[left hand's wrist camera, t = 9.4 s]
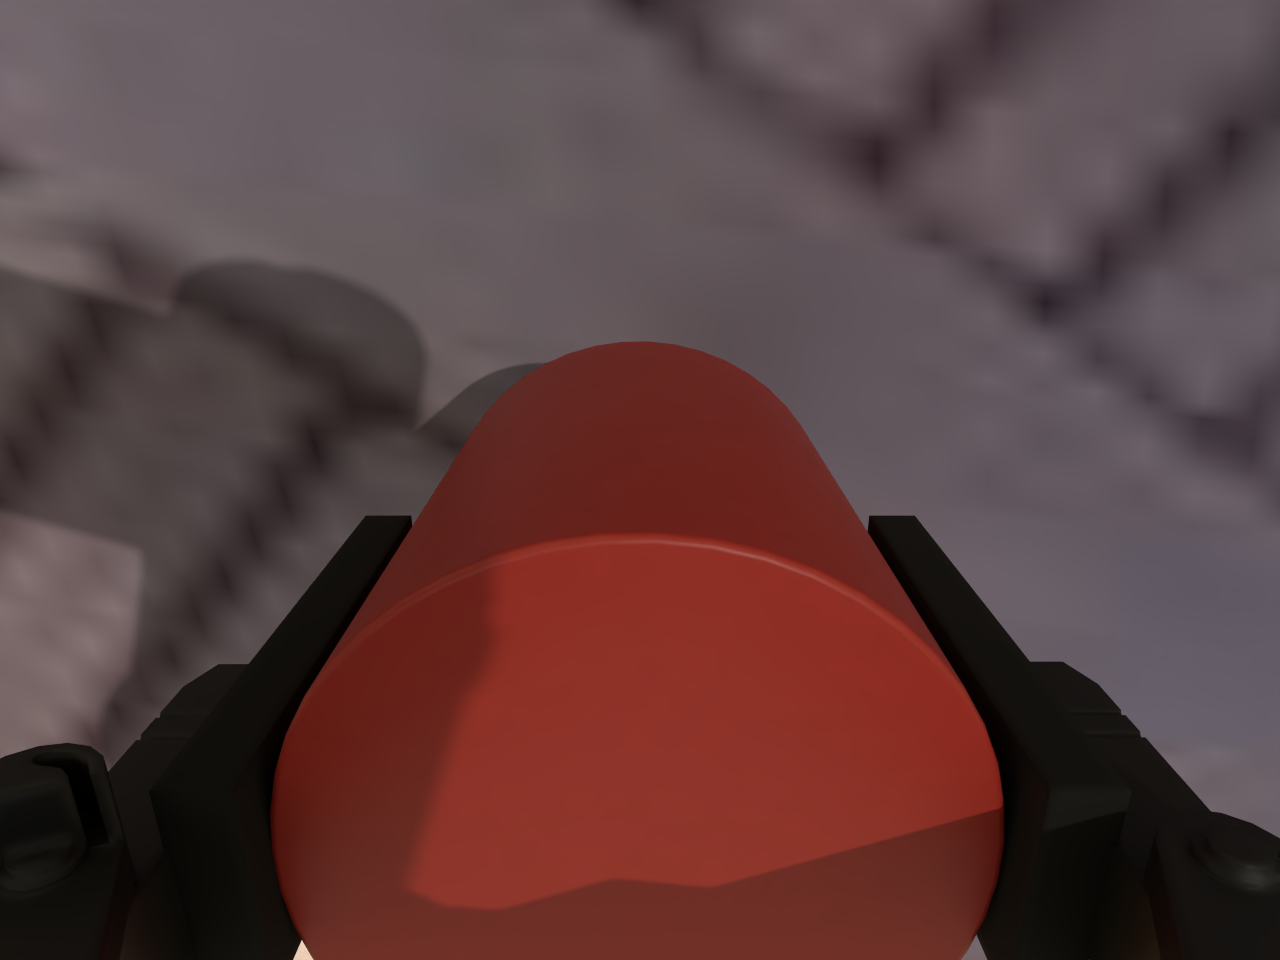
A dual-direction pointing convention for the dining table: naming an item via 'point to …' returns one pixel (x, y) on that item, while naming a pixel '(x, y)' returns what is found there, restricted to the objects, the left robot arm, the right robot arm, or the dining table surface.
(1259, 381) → the dining table surface
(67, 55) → the dining table surface
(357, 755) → the canister
